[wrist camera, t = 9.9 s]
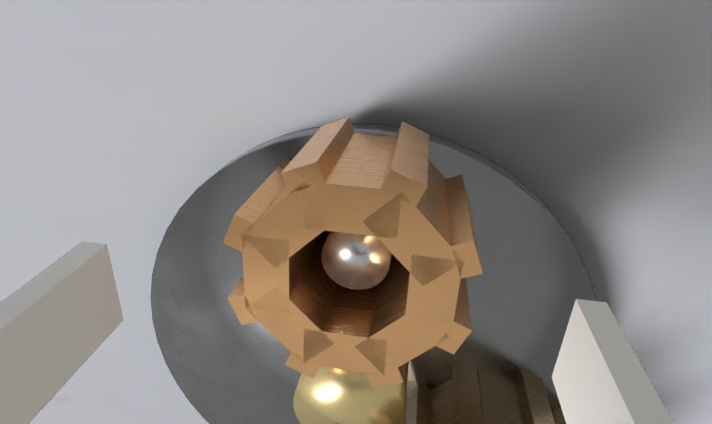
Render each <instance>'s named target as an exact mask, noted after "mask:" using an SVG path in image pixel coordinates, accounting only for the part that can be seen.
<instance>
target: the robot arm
mask: <svg viewBox="0 0 712 424" xmlns="http://www.w3.org/2000/svg"><path fill="white" fill-rule="evenodd" d="M122 321H123V316H122V311H121V307H120V302H119V298H118V293H117V289H116V284H115V279H114V275H113V270H112V266H111V261H110V257H109V252H108V248H107V244H99V243H90V242H81V243H80V244H78V245H77V246H76V247H74V248H73V249H72V250H70V251H69V252H68V253H66V254H65V255H64V256H62V257H61V258H60V259H58V260H57V261H55V262H54V263H53V264H51V265H50V266H49V267H47V268H46V269H45V270H43V271H42V272H41V273H39V274H38V275H37V276H35V277H34V278H33V279H31V280H30V281H29V282H27V283H26V284H25V285H23V286H22V287H20V288H19V289H18V290H16V291H15V292H14V293H12V294H11V295H10V296H8V297H7V298H6V299H4V300H3V301H2V302H0V424H29V423H30V422H31V421H32V420H33V419H34V417H35V416H36V415H37V414H38V413H39V412H40V411H41V410H42V409H43V408H44V406H45V405H46V404H47V403H48V402H49V401H50V400H51V399H52V398H53V397H54V395H55V394H56V393H57V392H58V391H59V390H60V389H61V388H62V387H63V386H64V384H65V383H66V382H67V381H68V380H69V379H70V378H71V377H72V376H73V375H74V374H75V372H76V371H77V370H78V369H79V368H80V367H81V366H82V365H83V364H84V363H85V361H86V360H87V359H88V358H89V357H90V356H91V355H92V354H93V353H94V352H95V350H96V349H97V348H98V347H99V346H100V345H101V344H102V343H103V342H104V341H105V339H106V338H107V337H108V336H109V335H110V334H111V333H112V332H113V331H114V330H115V328H116V327H117V326H118V325H119V324H120V323H121V322H122ZM552 380H553V383H554V386H555V389H556V393H557V396H558V399H559V402H560V405H561V408H562V412H563V415H564V418H565V421H566V424H674V422H673V420H672V418H671V416H670V415H669V413H668V411H667V409H666V408H665V406H664V404H663V402H662V400H661V399H660V397H659V395H658V393H657V392H656V390H655V388H654V386H653V384H652V383H651V381H650V379H649V377H648V375H647V374H646V372H645V370H644V368H643V367H642V365H641V363H640V361H639V359H638V358H637V356H636V354H635V352H634V351H633V349H632V347H631V345H630V343H629V342H628V340H627V338H626V336H625V335H624V333H623V331H622V329H621V327H620V326H619V324H618V322H617V320H616V318H615V317H614V315H613V313H612V311H611V310H610V308H609V306H608V304H607V302H598V301H590V300H581V299H576V300H575V303H574V307H573V310H572V313H571V316H570V319H569V323H568V326H567V329H566V332H565V335H564V339H563V342H562V345H561V348H560V351H559V355H558V358H557V361H556V364H555V367H554V371H553V374H552Z"/></svg>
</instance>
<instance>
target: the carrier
mask: <svg viewBox="0 0 712 424" xmlns="http://www.w3.org/2000/svg"><path fill="white" fill-rule="evenodd" d="M352 126H353V129H354V132H355V133H364V134H376V135H387V136H395V135H396V133H397V131H398V129H399V128H398V127H392V126H385V125H374V124H352ZM320 128H321V127H314V128H310V129H306V130H302V131H298V132H294V133H290V134H286V135H283V136H280V137H278V138H275V139H273V140H270V141H268V142H266V143H263V144H261V145H258V146H256V147H254V148H252V149H251V150H249V151H247V152H246V153H244V154H242V155H241V156H239V157H237V158H236V159H234V160H232V161H231V162H230V163H228V164H227V165H226V166H225V167H223V168H222V169H221V170H220V171H218V172H217V173H216V174H215V175H214V176H212V177H211V178H210V179H209V180H207V181H206V182H205V183H204V184H203V185H201V186H200V187H199V188H198V189H197V190H196V191H195V192H194V193H193V194H192V195H191V197H190V198H189V199H188V200H187V201H186V202H185V203H184V205H183V206H182V207H181V208H180V209H179V211H178V212H177V214H176V216H175V217H174V219H173V220H172V222H171V224H170V225H169V227H168V229H167V230H166V233H165V235H164V237H163V240H162V242H161V245H160V247H159V250H158V252H157V256H156V261H155V265H154V269H153V274H152V286H151V307H152V318H153V324H154V328H155V332H156V336H157V341H158V344H159V346H160V349H161V352H162V354H163V357H164V359H165V362H166V364H167V366H168V368H169V370H170V372H171V374H172V375H173V377H174V379H175V381H176V383H177V384H178V386H179V387H180V389H181V390H182V392H183V393H184V394H185V396H186V397H187V399H188V400H189V402H190V403H191V404H192V405H193V406H194V407H195V409H196V410H197V411H198V412H199V413H200V414H201V415H202V417H203V418H204V419H205V420H206V421H207V422H208V423H209V424H566V421H565V418H564V415H563V412H562V408H561V405H560V402H559V399H558V396H557V393H556V389H555V386H554V383H553V380H552V374H553V371H554V367H555V364H556V361H557V358H558V355H559V351H560V348H561V345H562V342H563V339H564V335H565V332H566V329H567V326H568V323H569V319H570V316H571V313H572V310H573V307H574V303H575V300H576V299H581V300H590V301H596V299H595V295H594V292H593V288H592V285H591V281H590V278H589V276H588V274H587V272H586V270H585V268H584V266H583V264H582V262H581V259H580V257H579V255H578V253H577V251H576V250H575V248H574V246H573V244H572V243H571V241H570V239H569V237H568V236H567V234H566V233H565V231H564V230H563V229H562V227H561V226H560V224H559V223H558V221H557V220H556V218H555V217H554V215H553V214H552V213H551V211H550V210H549V209H548V208H547V207H546V206H545V205H544V204H543V203H542V202H541V201H540V200H539V199H538V197H537V196H536V195H535V194H534V193H533V192H532V191H531V190H530V189H529V188H527V187H526V186H525V185H524V184H522V183H521V182H520V181H519V180H517V179H516V178H515V177H514V176H513V175H511V174H510V173H509V172H508V171H506V170H505V169H503V168H502V167H500V166H498V165H497V164H495V163H493V162H492V161H490V160H488V159H487V158H485V157H483V156H482V155H480V154H478V153H477V152H474V151H472V150H470V149H467V148H465V147H463V146H460V145H458V144H456V143H454V142H451V141H449V140H447V139H444V138H440V137H437V136H433V135H430V134H429V146H428V159H429V160H430V161H431V162H432V163H433V165H434V166H435V167H436V168H437V169H438V170H439V172H440V173H441V174H442V175H443V176H444V177H445V179H448V178H451V177H455V176H459V175H463V179H464V182H465V186H466V189H467V193H468V196H469V200H470V206H471V211H472V216H473V222H474V227H475V233H476V238H477V244H478V249H479V254H480V260H481V265H482V271H483V274H480V275H475V276H470V277H466V283H467V291H468V300H469V308H470V316H471V325H472V332H471V333H470V334H469V335H468V337H467V338H466V339H465V341H464V342H463V343H462V344H461V346H460V347H459V348H458V350H457V351H456V352H455V354H454V355H453V354H451V353H449V352H447V351H445V350H443V349H441V348H439V347H437V346H434V347H433V348H431V349H429V350H427V351H426V352H424V353H422V354H420V355H419V356H417V357H415V358H414V359H412V360H410V361H408V362H407V363H405V371H404V382H403V383H397V384H391V385H385V386H378V387H372V385H371V383H370V381H369V378H368V376H367V374H366V373H364V372H357V371H350V370H343V369H337V368H330V367H323V366H321V367H320V368H319V370H318V372H317V373H316V375H315V377H314V379H313V378H311V377H309V376H307V375H305V374H303V373H301V372H298V371H296V370H294V369H292V368H290V367H288V366H286V365H285V362H286V360H287V357H288V355H289V352H290V350H288V349H287V348H286V347H285V346H284V345H283V344H282V343H281V342H280V341H279V340H278V339H277V338H276V337H275V336H274V335H272V334H271V333H270V332H269V331H268V330H267V329H266V328H265V327H264V326H263V325H262V324H261V323H260V322H254V323H249V324H245V325H241V323H240V321H239V319H238V317H237V315H236V314H235V312H234V310H233V308H232V306H231V304H230V302H229V300H228V297H229V295H230V294H231V292H232V291H233V289H234V288H235V286H236V285H237V283H238V282H239V281H240V279H241V278H242V276H243V275H244V273H243V257H242V252H241V251H239V250H237V249H235V248H233V247H230V246H228V245H226V244H224V243H223V242H224V239H225V236H226V234H227V231H228V229H229V226H230V224H231V221H232V219H233V216H234V214H235V213H236V212H237V211H238V210H239V209H240V207H241V206H242V205H243V204H244V203H245V202H246V201H247V200H248V199H249V198H250V197H251V196H252V194H253V193H254V192H255V191H256V190H257V189H258V188H259V187H260V186H261V185H262V184H263V183H264V182H265V180H266V179H267V178H268V177H269V176H270V175H271V174H272V173H273V172H274V171H275V170H276V169H277V168H278V166H279V165H280V164H281V163H282V162H283V161H284V160H285V159H286V158H288V159H290V160H292V159H293V158H294V157H295V156H296V155H297V154H298V153H299V152H300V150H301V149H302V148H303V147H304V146H305V145H306V144H307V142H308V141H309V140H310V139H311V138H312V137H313V136H314V134H315V133H316V132H317V131H318V130H319V129H320ZM391 254H392V253H391V252H390V251H389V250H388V248H387V247H386V246H385V245H384V244H383V243H382V242H381V241H380V240H379V239H378V238H377V237H376V236H369V235H360V234H351V233H342V232H334V231H330V233H329V235H328V237H327V240H326V242H325V244H324V247H323V249H322V254H321V260H322V265H323V267H324V270H325V272H326V273H327V274H328V276H329V277H330V278H331V279H332V280H333V281H335V282H336V283H337V284H339V285H341V286H343V287H346V288H349V289H356V290H361V289H368V288H371V287H373V286H375V285H377V284H379V283H380V282H381V281H382V280H383V279H384V278H385V276H386V275H387V273H388V270H389V267H390V260H391Z"/></svg>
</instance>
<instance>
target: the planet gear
mask: <svg viewBox="0 0 712 424" xmlns="http://www.w3.org/2000/svg"><path fill="white" fill-rule="evenodd" d="M428 146H429V134H427V133H425V132H423V131H421V130H419V129H417V128H415V127H413V126H411V125H409V124H407V123H405V122H402V124H401V125H400V127H399V129H398V131H397V133H396V135H395V136H387V135H376V134H364V133H355V132H354V129H353V126H352V123H351V121H350V118H349V117H346V118H343V119H340V120H337V121H334V122H331V123H328V124H325V125H322V127H321V128H320V129H319V130H318V131H317V132H316V133H315V134H314V136H313V137H312V138H311V139H310V140H309V141H308V142H307V144H306V145H305V146H304V147H303V148H302V149H301V150H300V152H299V153H298V154H297V155H296V156H295V157H294V158H293V159H292V160H290V159H288V158H286V159H285V160H284V161H283V162H282V163H281V164H280V165H279V166H278V168H277V169H276V170H275V171H274V172H273V173H272V174H271V175H270V176H269V177H268V178H267V179H266V180H265V182H264V183H263V184H262V185H261V186H260V187H259V188H258V189H257V190H256V191H255V192H254V193H253V194H252V196H251V197H250V198H249V199H248V200H247V201H246V202H245V203H244V204H243V205H242V206H241V207H240V209H239V210H238V211H237V212H236V213H235V214H234V216H233V219H232V221H231V224H230V226H229V229H228V231H227V234H226V236H225V239H224V242H223V243H224V244H226V245H228V246H230V247H233V248H235V249H237V250H239V251H241V252H242V257H243V273H244V275H243V276H242V278H241V279H240V281H239V282H238V283H237V285H236V286H235V288H234V289H233V291H232V292H231V294H230V295H229V297H228V300H229V302H230V304H231V306H232V308H233V310H234V312H235V314H236V315H237V317H238V319H239V321H240V323H241V325H245V324H249V323H254V322H260V323H261V324H262V325H263V326H264V327H265V328H266V329H267V330H268V331H269V332H270V333H271V334H272V335H274V336H275V337H276V338H277V339H278V340H279V341H280V342H281V343H282V344H283V345H284V346H285V347H286V348H287V349H288V350H290V352H289V355H288V357H287V360H286V362H285V365H286V366H288V367H290V368H292V369H294V370H296V371H298V372H301V373H303V374H305V375H307V376H309V377H311V378H313V379H314V377H315V375H316V373H317V372H318V370H319V368H320V367H321V366H323V367H330V368H337V369H343V370H350V371H357V372H364V373H366V374H367V376H368V378H369V381H370V383H371V385H372V387H378V386H385V385H391V384H397V383H403V382H404V371H405V363H407V362H408V361H410V360H412V359H414V358H415V357H417V356H419V355H420V354H422V353H424V352H426V351H427V350H429V349H431V348H433V347H434V346H437V347H439V348H441V349H443V350H445V351H447V352H449V353H451V354H453V355H454V354H455V352H456V351H457V350H458V348H459V347H460V346H461V344H462V343H463V342H464V341H465V339H466V338H467V337H468V335H469V334H470V333H471V332H472V325H471V316H470V308H469V300H468V291H467V283H466V277H470V276H475V275H480V274H483V271H482V265H481V260H480V254H479V249H478V244H477V238H476V233H475V227H474V222H473V216H472V211H471V206H470V200H469V196H468V193H467V189H466V186H465V182H464V179H463V175H459V176H455V177H451V178H448V179H445V177H444V176H443V175H442V174H441V173H440V172H439V170H438V169H437V168H436V167H435V166H434V165H433V163H432V162H431V161H430V160H429V159H428ZM330 231H334V232H342V233H351V234H360V235H369V236H376V237H377V238H378V239H379V240H380V241H381V242H382V243H383V244H384V245H385V246H386V247H387V248H388V250H389V251H390V252H391V253H392V254H391V260H390V267H389V270H388V273H387V275H386V276H385V278H384V279H383V280H382V281H381V282H380V283H379V284H377V285H375V286H373V287H371V288H368V289H361V290H356V289H349V288H346V287H343V286H341V285H339V284H337V283H336V282H335V281H333V280H332V279H331V278H330V277H329V276H328V274H327V273H326V272H325V270H324V267H323V265H322V260H321V254H322V249H323V247H324V244H325V242H326V240H327V237H328V235H329V233H330Z"/></svg>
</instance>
